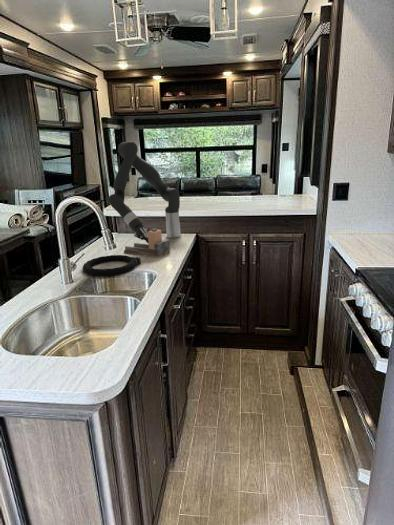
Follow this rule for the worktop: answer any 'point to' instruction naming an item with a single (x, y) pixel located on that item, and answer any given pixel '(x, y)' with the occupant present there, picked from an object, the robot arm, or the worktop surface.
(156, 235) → the block
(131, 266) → the cable lock
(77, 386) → the worktop surface
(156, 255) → the channel board
